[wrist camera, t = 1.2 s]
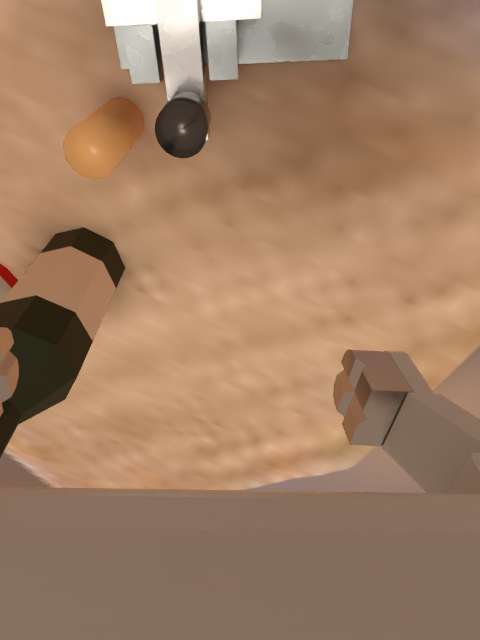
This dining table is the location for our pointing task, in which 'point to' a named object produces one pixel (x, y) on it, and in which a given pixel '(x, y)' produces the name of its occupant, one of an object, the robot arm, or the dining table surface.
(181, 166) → the dining table surface
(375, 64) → the dining table surface
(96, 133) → the orange rounded cylinder
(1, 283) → the kitchen timer
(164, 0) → the crank handle
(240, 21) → the mount
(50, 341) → the wine bottle
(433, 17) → the dining table surface
